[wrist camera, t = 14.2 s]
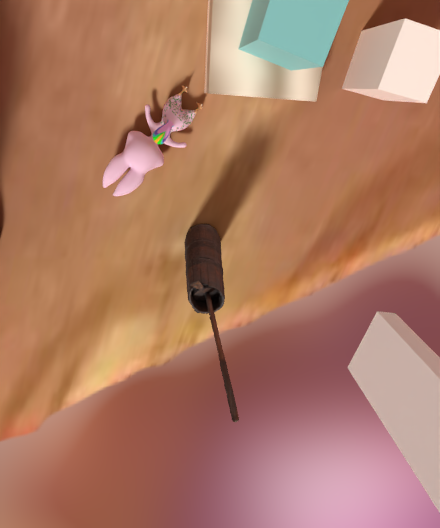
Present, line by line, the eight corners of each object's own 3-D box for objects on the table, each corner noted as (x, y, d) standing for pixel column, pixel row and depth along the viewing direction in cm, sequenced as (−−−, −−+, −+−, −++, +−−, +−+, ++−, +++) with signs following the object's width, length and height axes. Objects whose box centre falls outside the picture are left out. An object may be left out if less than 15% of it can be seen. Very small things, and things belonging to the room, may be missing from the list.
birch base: (204, 92, 39) (208, 93, 34) (209, -41, 33) (215, -60, 29) (300, 99, 41) (316, 101, 36) (320, -26, 35) (342, -42, 31)
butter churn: (156, 211, 44) (140, 364, 20) (224, 197, 45) (291, 330, 20) (172, 269, 49) (175, 450, 25) (234, 255, 49) (298, 422, 25)
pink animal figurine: (171, 76, 38) (88, 171, 40) (178, 66, 33) (82, 177, 34) (208, 118, 41) (129, 205, 43) (220, 115, 36) (129, 216, 37)
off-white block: (341, 88, 40) (377, 89, 33) (361, 30, 38) (405, 18, 31) (383, 100, 42) (426, 103, 35) (405, 45, 39) (456, 36, 32)
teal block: (238, 49, 33) (257, 39, 26) (259, -25, 30) (287, -57, 23) (291, 70, 34) (323, 66, 28) (315, 2, 32) (356, -21, 25)
